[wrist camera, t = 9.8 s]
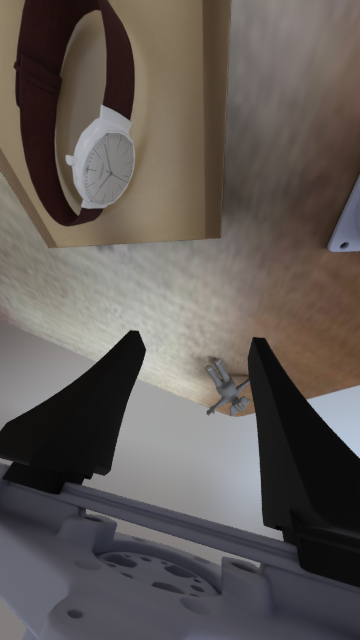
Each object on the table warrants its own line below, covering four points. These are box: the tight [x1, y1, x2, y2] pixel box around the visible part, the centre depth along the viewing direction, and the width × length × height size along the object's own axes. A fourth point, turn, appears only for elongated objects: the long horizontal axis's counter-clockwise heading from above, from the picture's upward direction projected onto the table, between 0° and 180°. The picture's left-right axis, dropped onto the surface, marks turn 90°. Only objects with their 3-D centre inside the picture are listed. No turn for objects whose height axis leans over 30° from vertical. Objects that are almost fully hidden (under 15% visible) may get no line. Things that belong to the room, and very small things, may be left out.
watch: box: [13, 0, 135, 227], centre depth 7 cm, size 8×5×4 cm, turn 146°
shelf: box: [0, 0, 231, 248], centre depth 10 cm, size 13×10×5 cm
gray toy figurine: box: [205, 359, 250, 416], centre depth 28 cm, size 10×6×9 cm
